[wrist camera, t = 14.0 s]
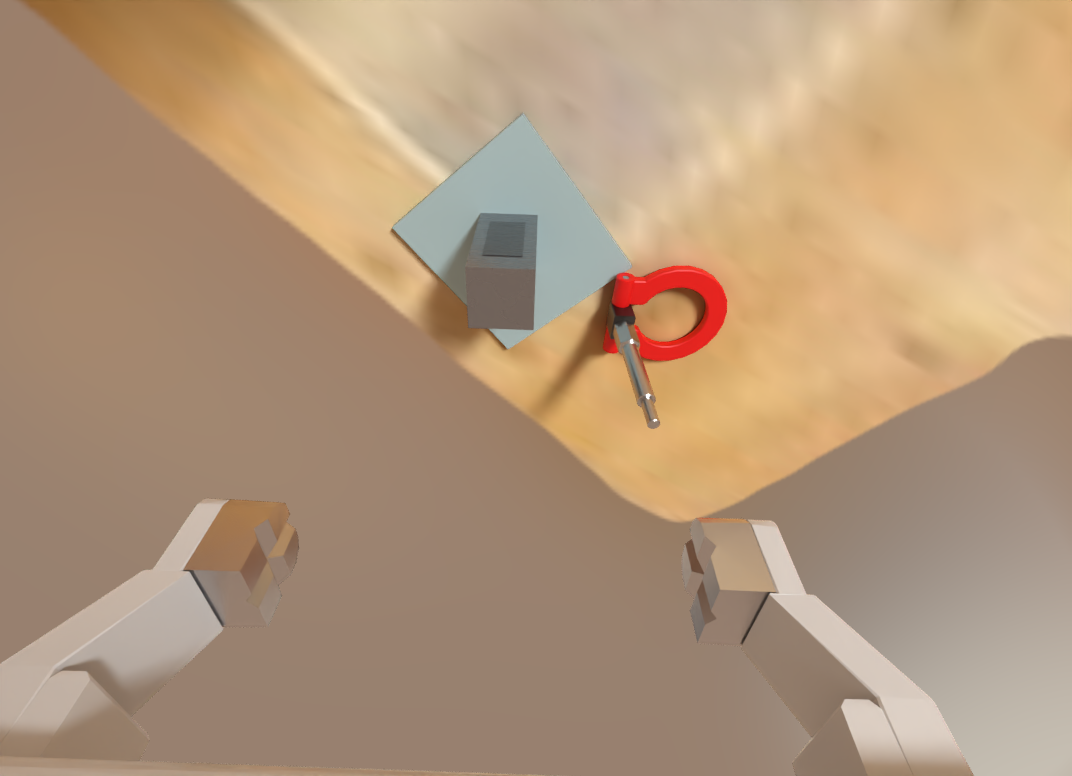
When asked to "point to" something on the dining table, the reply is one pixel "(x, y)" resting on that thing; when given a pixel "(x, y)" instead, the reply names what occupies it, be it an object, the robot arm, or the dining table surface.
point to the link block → (502, 272)
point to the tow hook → (636, 345)
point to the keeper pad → (517, 188)
